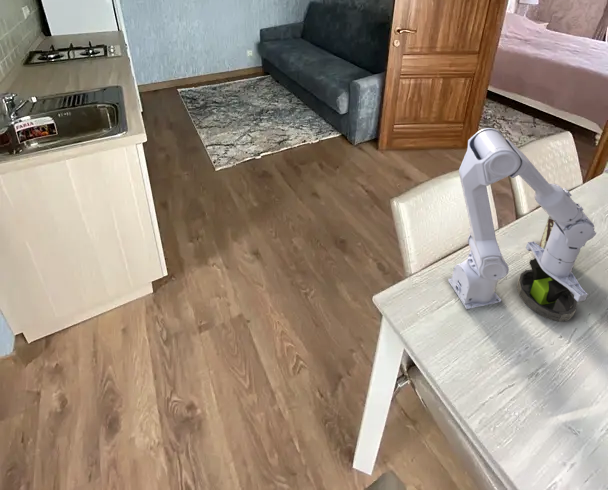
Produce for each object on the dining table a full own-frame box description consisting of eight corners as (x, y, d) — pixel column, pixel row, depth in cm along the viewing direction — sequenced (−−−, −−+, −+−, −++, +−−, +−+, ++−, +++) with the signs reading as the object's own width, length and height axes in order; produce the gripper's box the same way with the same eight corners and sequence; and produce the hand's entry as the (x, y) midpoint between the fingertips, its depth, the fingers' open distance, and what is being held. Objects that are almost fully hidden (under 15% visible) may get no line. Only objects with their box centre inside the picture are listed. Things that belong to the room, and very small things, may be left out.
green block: (540, 305, 82) (545, 292, 81) (529, 293, 85) (534, 280, 84) (556, 302, 83) (561, 289, 81) (545, 290, 86) (550, 277, 84)
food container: (563, 283, 88) (575, 254, 85) (535, 270, 92) (545, 242, 88) (565, 251, 97) (576, 224, 94) (539, 241, 101) (549, 214, 97)
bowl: (571, 333, 77) (575, 324, 76) (512, 302, 84) (515, 293, 82) (574, 295, 85) (578, 287, 84) (520, 269, 92) (523, 261, 91)
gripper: (606, 277, 73) (586, 319, 78) (548, 226, 86) (534, 265, 91) (578, 282, 71) (559, 326, 76) (524, 230, 84) (511, 269, 90)
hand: (544, 293), depth 84 cm, fingers closed on green block, 3 cm apart
